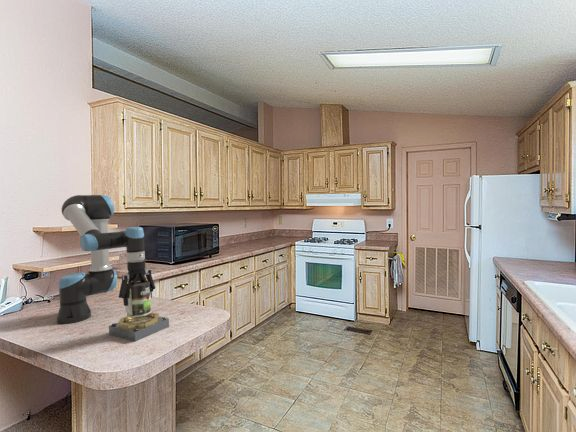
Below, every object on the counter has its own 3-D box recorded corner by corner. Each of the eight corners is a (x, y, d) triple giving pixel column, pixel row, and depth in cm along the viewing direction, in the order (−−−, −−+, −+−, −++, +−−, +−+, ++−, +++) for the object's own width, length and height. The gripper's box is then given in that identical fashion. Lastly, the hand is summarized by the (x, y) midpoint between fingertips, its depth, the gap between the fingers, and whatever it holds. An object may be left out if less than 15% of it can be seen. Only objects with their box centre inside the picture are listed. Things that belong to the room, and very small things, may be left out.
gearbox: (109, 334, 146) (108, 321, 146) (143, 321, 162) (143, 309, 162) (135, 341, 138) (134, 327, 138) (169, 326, 154) (168, 314, 153)
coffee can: (155, 310, 154) (154, 280, 153) (141, 317, 144) (140, 286, 143) (136, 309, 156) (135, 280, 155) (121, 317, 146) (119, 286, 145)
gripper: (118, 265, 137) (121, 317, 138) (162, 257, 157) (164, 302, 158) (107, 264, 141) (110, 315, 141) (151, 256, 161) (153, 301, 161)
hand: (138, 308), depth 150 cm, fingers closed on coffee can, 10 cm apart
